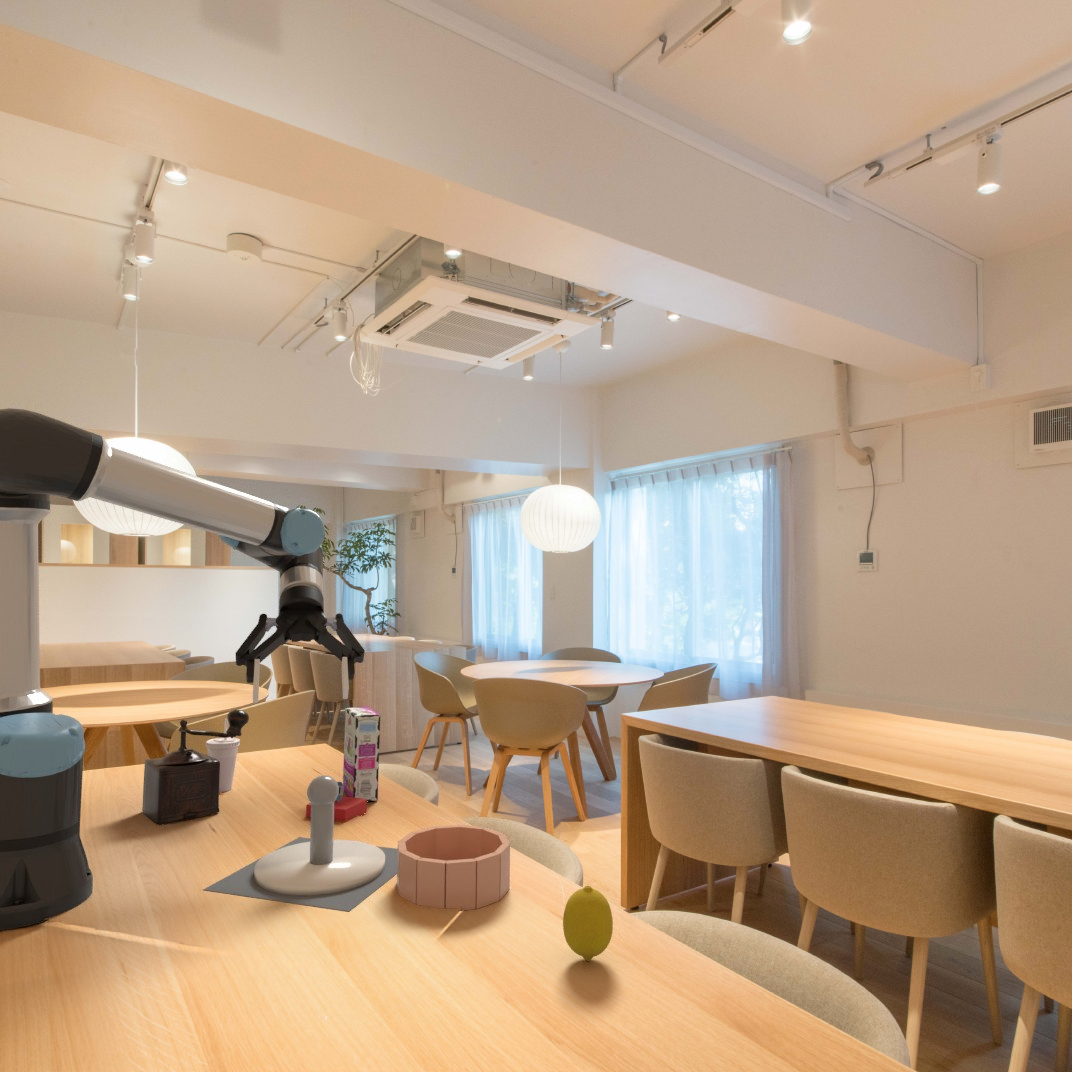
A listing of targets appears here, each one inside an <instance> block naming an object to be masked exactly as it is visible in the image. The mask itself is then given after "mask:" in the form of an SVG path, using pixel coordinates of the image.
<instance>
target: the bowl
mask: <svg viewBox="0 0 1072 1072" xmlns="http://www.w3.org/2000/svg"><path fill="white" fill-rule="evenodd" d="M397 849H398V852H397V874H396V887H397V893H398V896H400V897H402V898H403V899H405V900H407V901H409V902H410V903H413V904H414V905H418V906H423V907H424V906H425V907H429V908H430V907H431V908H436V909H437V908H439V909H454V908H460V910H459V911H460V912H461V911H471V910H478V909H480V908H483V907H486V906H488V905H492V904H494V903H496V902H499V901H501V900H502V899H503V898H504V896H505V895H506V894H507V892H508V891H509V890H510V886H511V885H510V884H511V883H510V882H511V880H510V876H511V842H510V841H509V838H507V836H506V834H505V833H502V832H500V831H497V830H495V829H491V828H489V827H486V826H477V825H476V826H475V825H469V824H467V825H466V824H454V825H453V824H451V825H437V826H430V827H427V828H422V829H419V830H418V829H417V830H416V831H411V832H409V833H408V834H407V835H405V836H404V837H402V838H401V839H399V840H398V841H397Z"/></svg>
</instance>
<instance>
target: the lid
mask: <svg viewBox="0 0 1072 1072" xmlns="http://www.w3.org/2000/svg"><path fill="white" fill-rule="evenodd" d="M337 782H338V781H337V780H335V778H333V777H332V776H329V775H324V774H322V775H319V776H316V777H315V778H313V779H312V780H311V782H310V783H309V785H308V787H307V789H306V796H307V800H308V801H309V803H311V817H310V831H309V832H310V835H309V836H310V837H309V838H310V842H304V843H299V844H294V845H290V846H287V847H284V848H281V849H278V848H277V849H278V850H276V849H275V850H273V851H271V852H269V853H267V854H265V855H264V856H262V857H260V858H261V859H260V858H259V859H260V860H259V861H258V862H257V863H256V865H255V868H254V880H255V882H256V883H257V884H258V885H259V886H260V887H262V888H263V889H266V890H268V891H271V892H275V893H280V894H287V895H321V894H329V893H335V892H340V891H345V890H349V889H352V888H355V887H358V886H361V885H364V884H366V883H368V882H370V881H372V880H374V879H375V878H377V877H378V876H379V875H380V874H381V873H382V872H383V871H384V868H385V854H384V852H383V851H382V850H381V849H380V848H378V847H376V846H377V845H373V844H370V843H368V842H364V841H359V840H350V839H334V831H335V830H334V829H335V820H334V801H335V800H336V799H337V796H338V793H339V787H338V784H337Z"/></svg>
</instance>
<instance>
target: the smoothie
mask: <svg viewBox="0 0 1072 1072" xmlns="http://www.w3.org/2000/svg"><path fill="white" fill-rule="evenodd" d="M228 728H229V722H228V719H227V718H225V719H224V731H223V733H226V731H227V730H228ZM240 741H241V739H240V738H237V737H233V738H231V737H228V738H223V737H215V738H212V739H208V740H206V742H205V748H206V749H207V755H208V756H210V757H213V758H215V759H217V760H218V761H220V776H219V793H224V792H228V791H231V790H232V788H233V782H234V776H235V775H234V774H235V768H236V762H237V755H238V751H239V746H240V745H241V742H240Z"/></svg>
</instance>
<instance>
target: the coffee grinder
mask: <svg viewBox="0 0 1072 1072" xmlns="http://www.w3.org/2000/svg"><path fill="white" fill-rule="evenodd" d="M226 719H228V729H227V731H226V733H224V732H220V731H219V732H218V731H213V730H211V731H210V730H194V729H188V727H187V725H188V721H187V719H181V720H180V721H179V724H180V727H179V728H178V731H179V732H180V745H179V747H178V749H176V750H173V751H171V752H169V753H167V754H166V755H164V756H163V757H156V758H155V757H154V758H149V759H145V760H144V769H143V770H144V771H143V788H142V789H143V790H142V792H143V793H142V809H141V810H142V813H143V815H144V816H146V817H147V818H148V819H149V820H150V821H152V822H153V823H154V824H155V823H156V824H155V825H157V826H163V825H162V824H164V825H168V823H169V824H173V823H180V822H185V821H190V820H194V819H197V818H201V817H207V816H211V815H214V814H215V815H216V814H218V813H220V799H219V798H220V797H219V796H220V792H219V776H220V761H218V760H217V759H215V758H213V757H210V756H208V754H205V753H203V752H200V751H197V750H196V749H193V748H188V747H187V743H186V741H187V734H189V735H192V736H203V737H206V736H207V737H215V738H228V737H230V738H237V737H241V736H242V735H243V734H242V728H243V727H245V726H246V725H247V724H248V722H249V719H250V717H249V714H248V712H246V711H245V710H241V709H233V710H231V711H229V712H228V714H227V716H226Z"/></svg>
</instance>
